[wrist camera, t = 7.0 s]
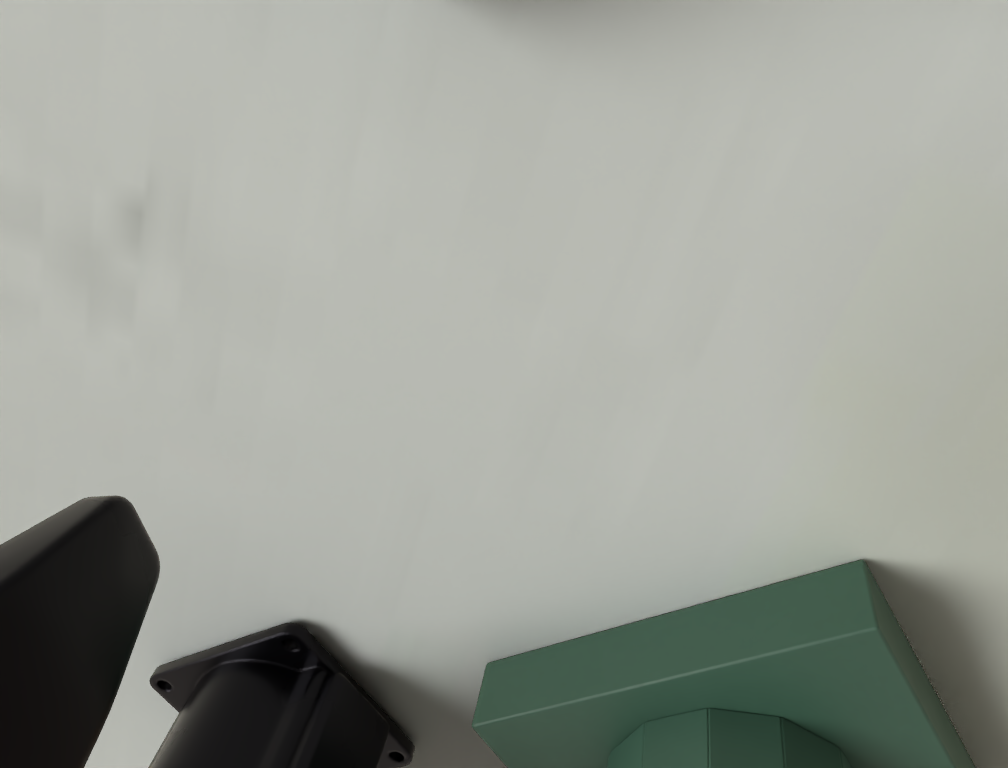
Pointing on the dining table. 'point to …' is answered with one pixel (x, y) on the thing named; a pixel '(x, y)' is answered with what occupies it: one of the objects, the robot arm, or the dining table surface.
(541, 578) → the dining table surface
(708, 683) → the tap control
